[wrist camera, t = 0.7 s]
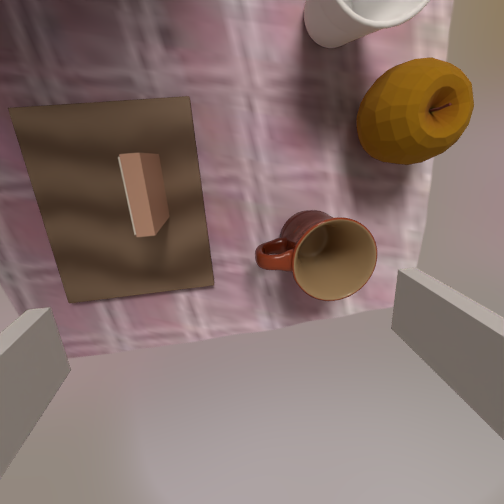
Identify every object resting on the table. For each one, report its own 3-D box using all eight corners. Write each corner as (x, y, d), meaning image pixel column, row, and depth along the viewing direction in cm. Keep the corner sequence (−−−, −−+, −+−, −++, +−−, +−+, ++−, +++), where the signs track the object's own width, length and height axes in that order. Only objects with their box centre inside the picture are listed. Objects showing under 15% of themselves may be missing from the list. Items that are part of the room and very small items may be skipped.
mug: (338, 200, 38) (382, 215, 28) (335, 264, 40) (373, 297, 31) (246, 205, 36) (258, 222, 27) (249, 270, 39) (260, 307, 29)
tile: (142, 155, 32) (116, 154, 24) (158, 154, 32) (139, 152, 24) (154, 217, 34) (134, 237, 26) (169, 216, 34) (155, 235, 26)
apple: (431, 112, 36) (528, 92, 25) (380, 180, 38) (450, 189, 26) (374, 58, 33) (455, 8, 22) (323, 133, 35) (374, 122, 24)
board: (15, 109, 30) (7, 107, 29) (189, 98, 32) (188, 96, 31) (73, 299, 37) (68, 303, 36) (214, 281, 39) (214, 285, 38)
